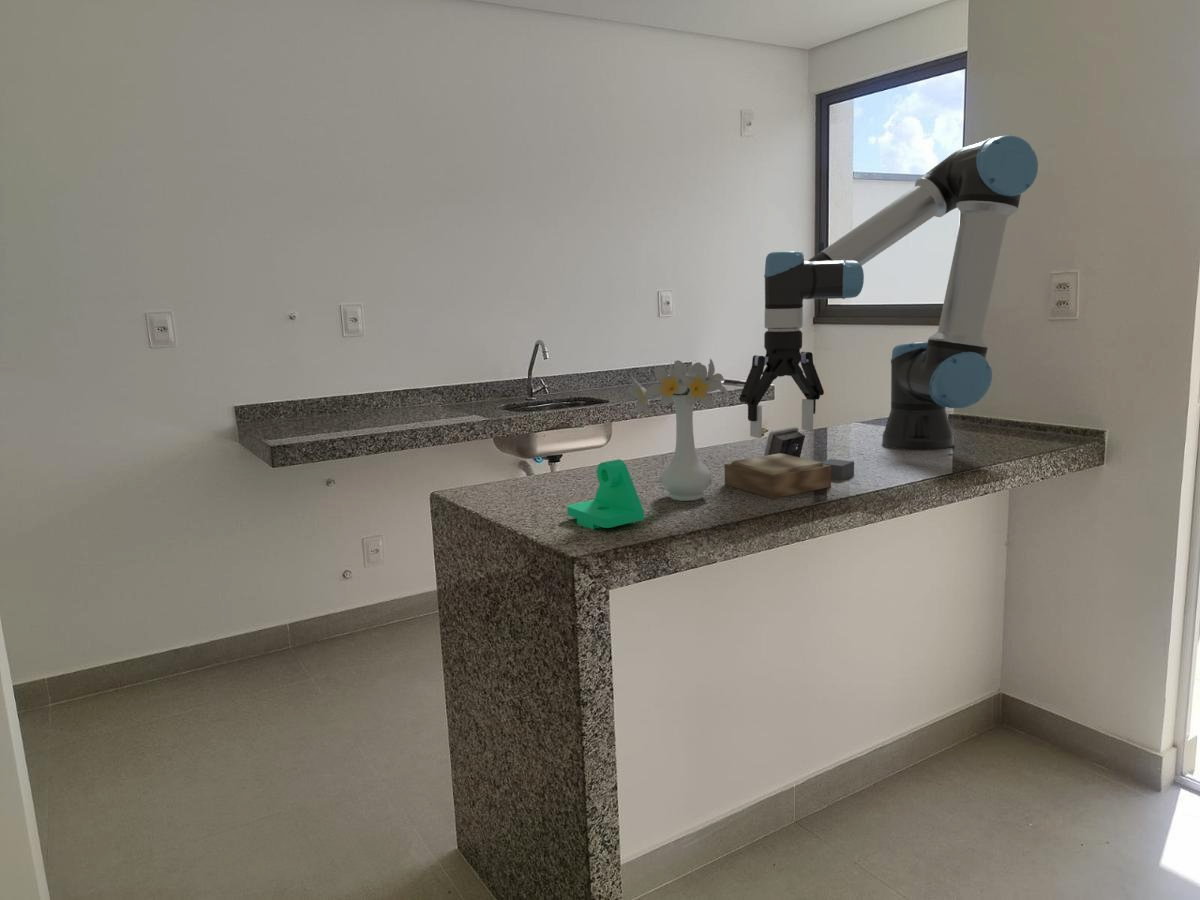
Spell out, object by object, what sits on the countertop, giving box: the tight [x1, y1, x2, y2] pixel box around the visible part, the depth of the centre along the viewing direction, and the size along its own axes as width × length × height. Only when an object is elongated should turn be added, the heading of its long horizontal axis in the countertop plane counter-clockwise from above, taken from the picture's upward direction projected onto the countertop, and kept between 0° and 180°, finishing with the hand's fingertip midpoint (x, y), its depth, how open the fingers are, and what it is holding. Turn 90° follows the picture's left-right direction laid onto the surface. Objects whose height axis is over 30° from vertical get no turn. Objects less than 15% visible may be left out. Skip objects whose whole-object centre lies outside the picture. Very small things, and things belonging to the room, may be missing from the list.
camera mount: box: [566, 458, 645, 530], centre depth 143 cm, size 12×8×10 cm, turn 35°
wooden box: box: [724, 453, 832, 499], centre depth 163 cm, size 14×14×5 cm
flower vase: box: [628, 357, 730, 502], centre depth 155 cm, size 13×18×25 cm
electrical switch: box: [763, 426, 806, 458], centre depth 178 cm, size 8×5×8 cm, turn 127°
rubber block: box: [822, 458, 855, 481], centre depth 169 cm, size 5×5×3 cm
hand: (782, 433), depth 178 cm, fingers open, 13 cm apart
